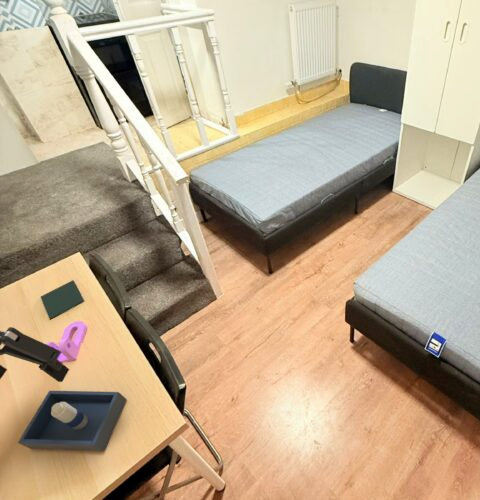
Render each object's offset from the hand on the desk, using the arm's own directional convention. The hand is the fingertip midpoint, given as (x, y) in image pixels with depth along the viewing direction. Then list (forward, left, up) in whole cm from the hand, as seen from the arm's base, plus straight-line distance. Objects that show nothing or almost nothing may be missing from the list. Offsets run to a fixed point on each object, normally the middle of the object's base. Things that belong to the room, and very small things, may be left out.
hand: (32, 375), depth 69 cm
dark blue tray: (+2, -3, -20) cm, 20 cm away
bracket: (-15, +17, -20) cm, 30 cm away
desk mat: (-29, +31, -20) cm, 47 cm away
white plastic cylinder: (+2, -3, -19) cm, 19 cm away
